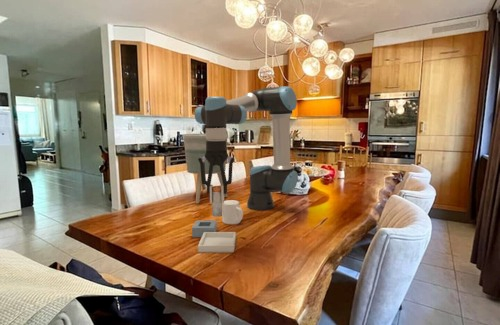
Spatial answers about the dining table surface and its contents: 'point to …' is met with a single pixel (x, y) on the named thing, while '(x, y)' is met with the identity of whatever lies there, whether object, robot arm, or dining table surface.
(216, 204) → the spice jar
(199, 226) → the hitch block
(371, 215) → the dining table surface
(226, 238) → the tray
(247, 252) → the dining table surface
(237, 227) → the dining table surface
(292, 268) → the dining table surface
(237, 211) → the mug
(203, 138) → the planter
